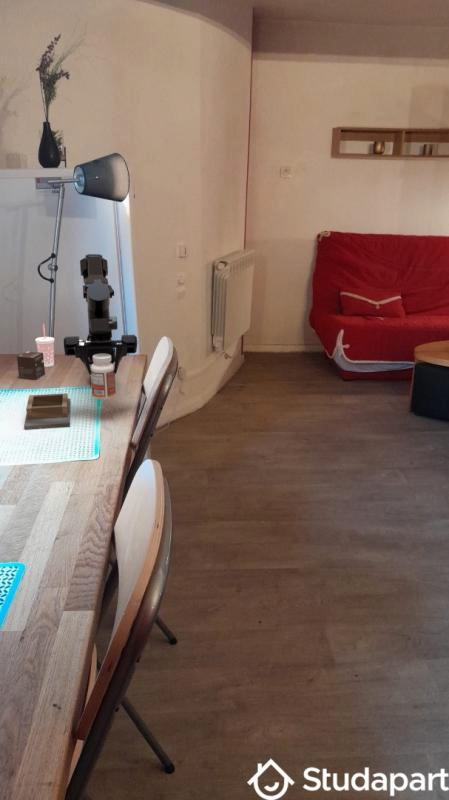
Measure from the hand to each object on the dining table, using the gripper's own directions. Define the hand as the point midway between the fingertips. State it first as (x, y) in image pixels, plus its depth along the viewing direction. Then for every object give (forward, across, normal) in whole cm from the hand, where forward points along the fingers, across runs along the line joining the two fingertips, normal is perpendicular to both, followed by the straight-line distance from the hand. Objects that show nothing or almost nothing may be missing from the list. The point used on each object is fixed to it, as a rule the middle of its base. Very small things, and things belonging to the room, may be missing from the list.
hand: (102, 373), depth 145 cm
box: (-18, -21, +36) cm, 45 cm away
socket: (+6, -14, +12) cm, 19 cm away
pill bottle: (+4, 0, +6) cm, 7 cm away
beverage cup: (-26, -17, +45) cm, 55 cm away
